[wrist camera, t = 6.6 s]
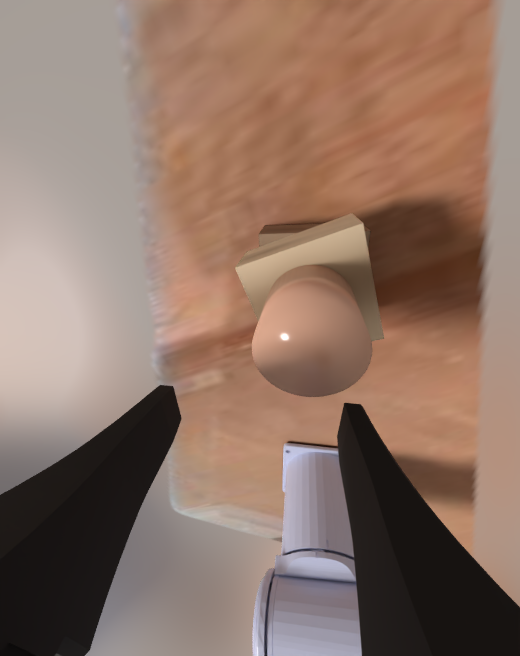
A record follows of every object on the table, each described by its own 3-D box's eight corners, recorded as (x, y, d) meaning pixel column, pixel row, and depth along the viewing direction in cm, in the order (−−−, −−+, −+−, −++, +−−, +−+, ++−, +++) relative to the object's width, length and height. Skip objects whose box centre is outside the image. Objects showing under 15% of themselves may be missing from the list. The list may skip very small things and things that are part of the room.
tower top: (371, 312, 16) (384, 338, 13) (279, 334, 18) (275, 361, 15) (351, 213, 13) (362, 223, 11) (246, 251, 15) (234, 267, 13)
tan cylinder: (350, 344, 14) (364, 400, 10) (269, 342, 15) (256, 393, 11) (360, 263, 12) (381, 299, 8) (263, 265, 12) (246, 300, 9)
